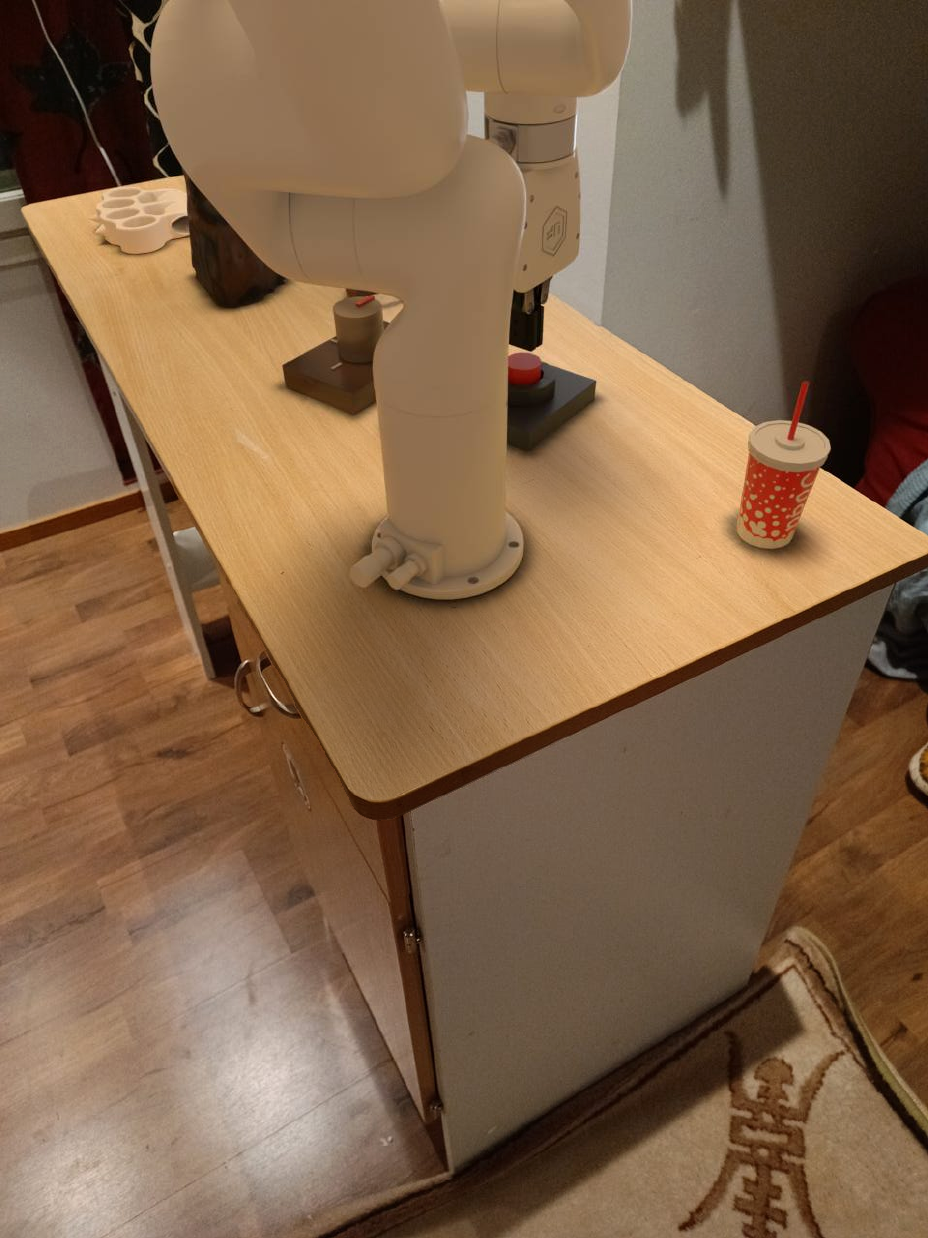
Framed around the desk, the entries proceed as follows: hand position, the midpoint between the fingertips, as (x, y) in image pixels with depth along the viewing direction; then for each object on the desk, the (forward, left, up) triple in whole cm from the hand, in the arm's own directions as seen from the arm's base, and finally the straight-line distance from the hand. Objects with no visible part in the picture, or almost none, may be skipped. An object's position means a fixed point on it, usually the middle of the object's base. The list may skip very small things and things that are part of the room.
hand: (524, 344), depth 84 cm
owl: (+4, +47, -7) cm, 48 cm away
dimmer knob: (-4, +18, -4) cm, 19 cm away
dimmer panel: (-4, +18, -7) cm, 20 cm away
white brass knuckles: (+8, +72, -7) cm, 73 cm away
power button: (0, 0, -3) cm, 3 cm away
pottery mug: (+13, +32, -7) cm, 35 cm away
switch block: (0, 0, -7) cm, 7 cm away
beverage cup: (-4, -28, -7) cm, 29 cm away
